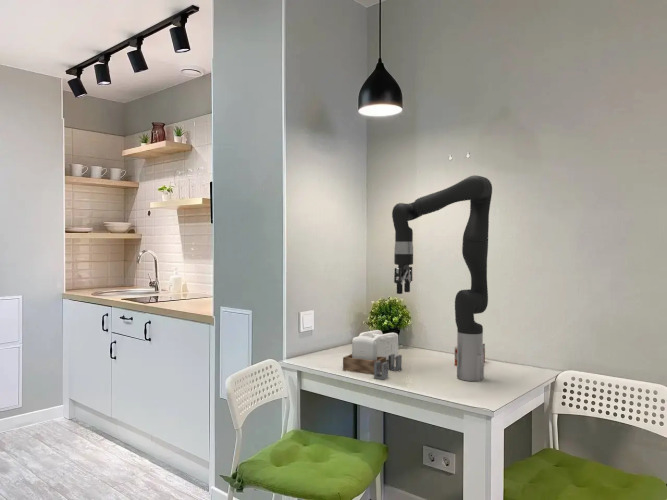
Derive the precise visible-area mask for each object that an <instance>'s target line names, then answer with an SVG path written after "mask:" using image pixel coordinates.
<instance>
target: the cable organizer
mask: <svg viewBox="0 0 667 500" xmlns="http://www.w3.org/2000/svg"><path fill="white" fill-rule="evenodd" d="M358 336H368V337H372V338H374V339H376V341H377V356H380V357H386V361H388V356H389V355H391V354H395V359H396V356H398V355H399V334H398V333H397V332H388V333H383V332H382V330H378V329H374V330H369V331H364V332H363V331H362V332H360V333H359V335H358Z"/></svg>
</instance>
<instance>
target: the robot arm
mask: <svg viewBox="0 0 667 500" xmlns="http://www.w3.org/2000/svg"><path fill="white" fill-rule="evenodd" d="M492 195H493V185H492V182H491V180H490V179H489V178H487V177H484V176H481V175H475V174H474V175H470V176H467V177H466V178H464V179H463V180H460V181H459V182H457V183H455V184H453V185H451V186H449V187H447V188H443V189H441V190H439V191H436V192H432V193H429V194H427V195H423V196H421V197H418V198H417V199H415V200H414V201H413V202H408V203H403V202H399V203H396V204H395V205H394V206H393V208H392V211H391V218H392V223H393V227H394V228H393V229H394V231H395V233H394V239H395V240H394V255H393V256H394V258H393V261H394V263H393V264H394V265H397V267H395V268H394V278H393V283H394V284H395V285H396V294H397V295H402V294H403V290H404V292H405V293H410V292H411V283H412V281H413V267H412V265H414V245H413V244H414V240H413V239H414V237H413V235H414V232H413V228H412V227H410V226H409V222H410V221H414V220H416V219H419V218H421V217H422V216H424V215H429V214H432V213H434V212H438V211H439V210H442V209H444V208H445V207H448V206H450V205H452V204H455V203H458V202H459V203H460V202H464V201H465V202H466V201H469V202H470V203H469V204H470V205H469V206H470V207H469V216H468V219H467V220H468V221H467V222H466V224H465V225H466V226H465V228H464V230H463V235H462V247H461V254H462V258H463V260H464V262H465V265H466V267H467V268H468V271H469V274H470V280H471V281H470V289H469V288H468V289H460V290H459V291H458V292H457V293H456V295H455V298H454V315H455V325H456V328H457V330H456V331H457V335H456V337H457V338H456V340H457V341H456V343H457V344H456V346H457V366H456V378H457V379H459V380H462V381H466V382H467V381H469V382H481V381H482V380H483V379H484V375H485V368H484V367H485V362H484V352H483V344H484V343H483V341H484V340H483V339H484V337H483V335H484V328H483V325H482V324H481V323H479V322H476V320H475V315H477V314H478V315H479V314H483V313H484V312H485V311H486V310H487V308H488V304H489V292H488V291H489V289H488V251H489V223H490V221H489V219H490V210H491V209H490V208H491V201H492ZM403 284H404V285H403ZM403 286H404V289H403Z"/></svg>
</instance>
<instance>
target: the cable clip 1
mask: <svg viewBox="0 0 667 500" xmlns="http://www.w3.org/2000/svg"><path fill="white" fill-rule="evenodd" d="M388 378H389V370H388V361H386V362H384V363H382V372H381V361H377V362H375V363H374V374H373V379H376V380H386V379H388Z"/></svg>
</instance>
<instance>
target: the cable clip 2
mask: <svg viewBox="0 0 667 500" xmlns="http://www.w3.org/2000/svg"><path fill="white" fill-rule="evenodd" d="M402 358H403V357H402V354H398V356H396V358H395V354H391V355H389V356H388V360H387V362H388V371H389V370H390V371H392V372H397V371H398V372H399V370H400V371H402V370H403V369H402V368H403V367H402V364H403V363H402V360H403V359H402Z"/></svg>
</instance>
